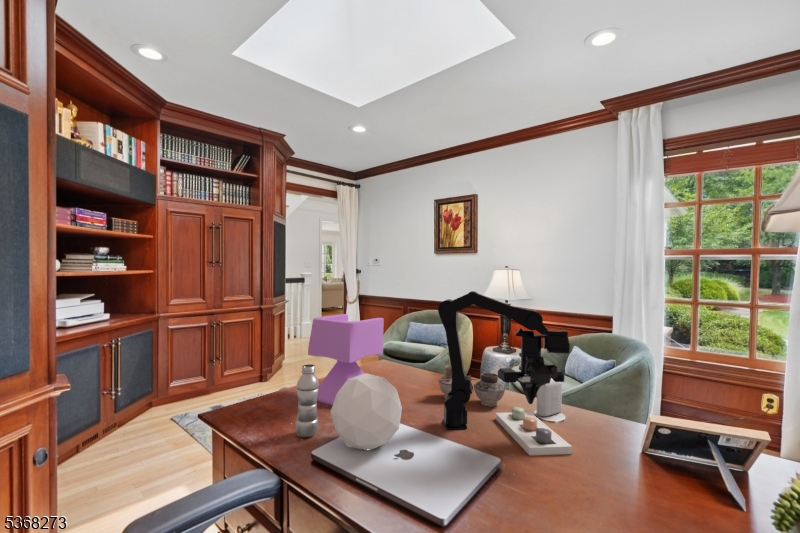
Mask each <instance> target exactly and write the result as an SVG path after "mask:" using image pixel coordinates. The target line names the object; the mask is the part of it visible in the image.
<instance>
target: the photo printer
mask: <svg viewBox="0 0 800 533" xmlns="http://www.w3.org/2000/svg"><path fill="white" fill-rule="evenodd" d="M562 396H563V382H555V381H554V380H553V379H552V378H551V381H550V383H549V384H547V383H546V385H542V386H541V387H540V388H539V390H538V391H537V394H536V413H537V415H539V416H542V417H549V416H552V415H556V414H559V413H561V412H562V405H563V404H562V402H563V401H562V400H563V398H562Z"/></svg>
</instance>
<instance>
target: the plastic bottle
mask: <svg viewBox="0 0 800 533" xmlns="http://www.w3.org/2000/svg"><path fill="white" fill-rule="evenodd" d="M315 373H316V366H315V364H310V363H309V364H303V365H302V366H301V376H299V379H298V380H297V383H296V395H297V416H296V422H295V426H294V427H295V433H296V434H297V436H298V437H300V438H311V437H312V436H315V435H316V434H317V432H318V431H319V430H318V429H319V426H320V424H319V418H318V407H317V406H318V401H317V396H318V389H319V385H320V381H319V379H318V377H317V376H316V374H315Z"/></svg>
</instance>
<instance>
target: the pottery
mask: <svg viewBox="0 0 800 533" xmlns="http://www.w3.org/2000/svg"><path fill="white" fill-rule="evenodd" d="M444 368H445V375H443V376H442V377H440V378H439V379H438V381H437V382H438V386H439V388H440V390H441V392H442V393H443V394H444V395H443V398H444V399H446V397H447V394H448V393H449V392H450V391H451V386H452V369H451V364H447V365H445V366H444ZM480 379H481V380H479V381H477V382H475V383H474V384H473V391H474V393H475V395H476V397H477V398H478V399H479V400H480V404H481V405H482V406H485V407H496V406H497V405H498V402H499V401H500V400H501V399H502V398H503V396H504V395H505V391H506V388H505V387H504V385H503V384H501V383H500V382H498V380H499V378H498V373H494V372H482V373H480Z"/></svg>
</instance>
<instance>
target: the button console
mask: <svg viewBox="0 0 800 533" xmlns="http://www.w3.org/2000/svg"><path fill="white" fill-rule="evenodd" d="M525 417H532V418H535V419H537V428H544V429H548V430H550V431H551V444H547V445H541V444H538V443H537V442H536V432H527V431H525V430H523V420H520V421H515V420H513V419H512V412H495V421H496V422H498V424H500V425H501V427H503V429H504V430H505V431H506V432H507V433H508V434H509V435H510V436H511V437H512V439H514V441H515V442H516V443H517V444H518V445H519V446H520V447H521V448H522V449H523V450H524V452H526V454H527V455H528V456H550V455H551V456H554V455H573V445H571V444H570V443H569V442H567V440H565V439H563V437H561V436H560V435H559V434H558V433H556V431H555V430H553V429H552V428H550V427H549V425H547V424H546V423H544V422H543V421H542V420H540V419H539V418H538V416H537V417H536V415H535V414H533V413H532V412H530V411H525Z"/></svg>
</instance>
